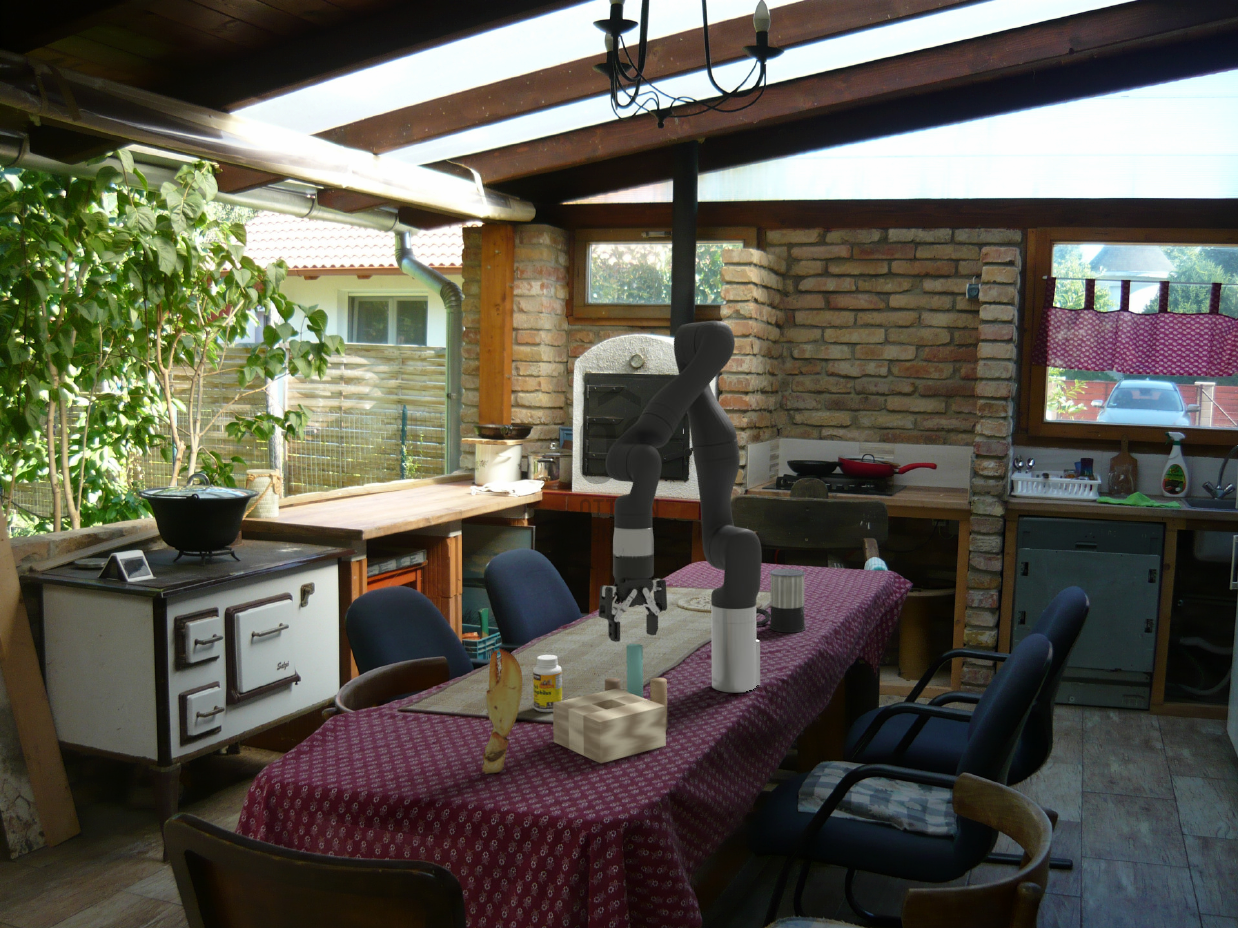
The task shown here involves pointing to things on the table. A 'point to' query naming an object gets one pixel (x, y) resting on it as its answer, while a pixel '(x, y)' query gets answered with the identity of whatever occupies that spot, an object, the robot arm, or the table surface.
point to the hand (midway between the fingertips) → (633, 637)
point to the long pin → (635, 669)
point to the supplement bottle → (547, 683)
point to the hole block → (609, 725)
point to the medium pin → (659, 692)
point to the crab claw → (501, 707)
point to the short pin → (612, 684)
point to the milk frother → (785, 601)
